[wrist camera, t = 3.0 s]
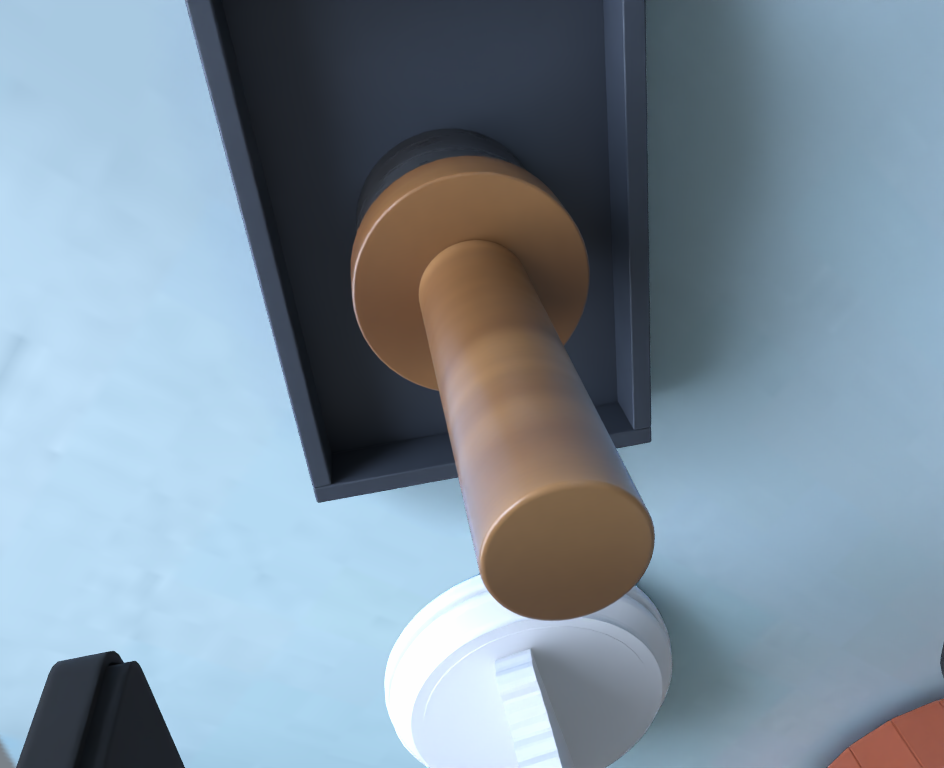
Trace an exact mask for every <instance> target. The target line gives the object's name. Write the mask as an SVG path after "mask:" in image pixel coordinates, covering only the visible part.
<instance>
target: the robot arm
mask: <svg viewBox="0 0 944 768" xmlns="http://www.w3.org/2000/svg"><path fill="white" fill-rule="evenodd" d="M940 664H941V671H942V674H943V677H944V644H943V649H942V654H941V662H940ZM16 768H185V767H184V765H183V762H182V760H181V758H180V755H179V753H178V751H177V748H176V746H175V744H174V742H173V739H172V737H171V735H170V732H169V730H168V728H167V726H166V723H165V721H164V719H163V716H162V714H161V712H160V710H159V707H158V705H157V703H156V700H155V698H154V696H153V694H152V691H151V689H150V687H149V684H148V682H147V680H146V677H145V675H144V673H143V671H142V669H141V667H140V665H139V664H138V663H137V662H136V661H132V662H127V663H124V662H123V661H122V659H121V657H120V656H119V654H117V653H116V652H115V651H110V652H105V653H99V654H94V655H89V656H84V657H79V658H74V659H69V660H64V661H59V662H57V663H56V664H55V665H54V666H53V667H52V669H51V671H50V673H49V675H48V678H47V681H46V684H45V686H44V689H43V692H42V695H41V698H40V701H39V704H38V707H37V709H36V712H35V715H34V718H33V721H32V724H31V727H30V730H29V732H28V735H27V738H26V741H25V744H24V747H23V750H22V752H21V755H20V758H19V761H18V764H17V767H16Z"/></svg>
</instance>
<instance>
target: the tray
mask: <svg viewBox="0 0 944 768" xmlns="http://www.w3.org/2000/svg"><path fill="white" fill-rule="evenodd" d="M185 2H186V6H187V10H188V14H189V17H190V21H191V25H192V29H193V33H194V36H195V40H196V44H197V48H198V52H199V55H200V59H201V63H202V67H203V71H204V74H205V78H206V82H207V86H208V90H209V93H210V97H211V101H212V105H213V109H214V112H215V116H216V120H217V124H218V128H219V131H220V135H221V139H222V143H223V147H224V151H225V154H226V158H227V162H228V166H229V170H230V173H231V177H232V181H233V185H234V189H235V192H236V196H237V200H238V204H239V208H240V211H241V215H242V219H243V223H244V227H245V230H246V234H247V238H248V242H249V246H250V249H251V253H252V257H253V261H254V265H255V268H256V272H257V276H258V280H259V284H260V287H261V291H262V295H263V299H264V303H265V306H266V310H267V314H268V318H269V322H270V325H271V329H272V333H273V337H274V341H275V344H276V348H277V352H278V356H279V360H280V364H281V367H282V371H283V375H284V379H285V383H286V386H287V390H288V394H289V398H290V402H291V405H292V409H293V413H294V417H295V421H296V424H297V428H298V432H299V436H300V440H301V443H302V447H303V451H304V455H305V459H306V462H307V466H308V470H309V474H310V478H311V481H312V485H313V487H314V493H315V497H316V500H317V502H319V503H320V502H325V501H331V500H336V499H342V498H347V497H353V496H358V495H364V494H369V493H375V492H380V491H386V490H391V489H397V488H402V487H407V486H413V485H418V484H424V483H429V482H435V481H440V480H446V479H451V478H457V477H458V473H457V469H456V465H455V460H454V456H453V451H452V447H451V442H450V438H449V433H448V429H447V424H446V420H445V415H444V411H443V406H442V402H441V397H440V393H439V391H437V390H433V389H429V388H426V387H423V386H420V385H418V384H415V383H413V382H411V381H409V380H407V379H405V378H403V377H402V376H400V375H399V374H397V373H396V372H394V371H393V370H392V369H390V368H389V367H388V366H387V365H386V364H385V363H384V362H383V361H381V360H380V359H379V357H378V356H377V355H376V354H375V353H374V351H373V350H372V349H371V348H370V346H369V344H368V343H367V341H366V340H365V338H364V336H363V334H362V332H361V330H360V327H359V325H358V323H357V319H356V316H355V312H354V307H353V300H352V289H351V255H352V248H353V244H354V240H355V237H356V234H357V232H356V210H357V203H358V199H359V196H360V192H361V189H362V187H363V185H364V182H365V180H366V178H367V177H368V175H369V173H370V172H371V170H372V169H373V167H374V166H375V165H376V164H377V162H378V161H379V160H380V159H381V158H382V157H383V156H384V155H385V154H386V153H387V152H388V151H389V150H391V149H392V148H393V147H395V146H396V145H398V144H399V143H401V142H403V141H404V140H406V139H408V138H410V137H412V136H415V135H418V134H421V133H423V132H428V131H432V130H438V129H463V130H468V131H473V132H476V133H479V134H482V135H485V136H487V137H489V138H491V139H493V140H496V141H497V142H498V143H500V144H501V145H503V146H504V147H506V148H507V149H508V150H509V151H510V152H511V153H513V154H514V155H515V156H516V158H517V159H518V160H519V161H520V162H521V164H522V165H523V166H524V168H525V169H526V171H528V172H529V173H531V174H532V175H534V176H535V177H537V178H538V179H539V180H541V181H542V182H543V183H544V184H545V185H546V186H547V187H548V188H549V189H550V190H551V191H552V192H553V193H554V195H555V196H556V197H557V198H558V199H559V201H560V202H561V204H562V205H563V206H564V208H565V209H566V210H567V212H568V213H569V215H570V216H571V218H572V219H573V221H574V222H575V224H576V226H577V227H578V229H579V231H580V234H581V236H582V238H583V241H584V243H585V247H586V251H587V255H588V261H589V269H590V273H589V289H588V296H587V300H586V304H585V307H584V311H583V314H582V316H581V318H580V320H579V323H578V325H577V327H576V329H575V330H574V332H573V334H572V335H571V337H570V339H569V340H568V341H567V342H566V344H565V345H564V348H565V350H566V352H567V354H568V355H569V357H570V359H571V361H572V363H573V365H574V367H575V369H576V371H577V373H578V375H579V377H580V379H581V381H582V383H583V385H584V387H585V389H586V391H587V393H588V395H589V397H590V399H591V400H592V402H593V404H594V406H595V408H596V410H597V412H598V414H599V416H600V418H601V420H602V422H603V424H604V426H605V428H606V430H607V432H608V434H609V436H610V438H611V440H612V442H613V443H614V445H615V447H616V448H621V447H627V446H632V445H638V444H643V443H649V442H651V427H650V426H651V374H650V301H649V227H648V154H647V80H646V6H645V0H185Z"/></svg>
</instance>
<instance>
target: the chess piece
mask: <svg viewBox="0 0 944 768" xmlns="http://www.w3.org/2000/svg"><path fill="white" fill-rule="evenodd" d="M671 675H672V655H671V645H670V638H669V634H668V631H667V628H666V626H665V623H664V621H663V619H662V617H661V615H660V613H659V611H658V609H657V608H656V606H655V605H654V603H653V602H652V601H651V600H650V598H649V597H648V596H647V595H646V594H645V593H644V592H643V591H642V590H641V589H639V588H638V587H637V586H636V585H635V586H634V587H633V588H632V589H631V590H630V591H629V592H628V593H626V594H625V595H624V596H623V597H622V598H620V599H619V600H617V601H616V602H615V603H613V604H611V605H609V606H608V607H606V608H604V609H602V610H600V611H597V612H595V613H592V614H590V615H587V616H584V617H579V618H575V619H570V620H563V621H542V620H535V619H530V618H527V617H523V616H520V615H518V614H515V613H513V612H511V611H510V610H508V609H506V608H504V607H503V606H502V605H501V604H499V603H498V602H497V601H496V600H495V599H494V598H493V597H492V596H491V595H490V594H489V592H488V591H487V589H486V588H485V586H484V584H483V581H482V579H481V576H480V575H477V576H475V577H472V578H470V579H468V580H466V581H464V582H462V583H460V584H458V585H456V586H454V587H452V588H451V589H449V590H447V591H446V592H444V593H443V594H441V595H440V596H438V597H437V598H435V599H434V600H433V601H432V602H430V603H429V604H428V605H427V606H425V607H424V608H423V609H422V610H421V611H420V612H419V613H418V614H417V615H416V616H415V617H414V618H413V619H412V620H411V622H410V623H409V624H408V625H407V626H406V628H405V629H404V631H403V632H402V633H401V635H400V637H399V638H398V640H397V641H396V643H395V645H394V647H393V650H392V652H391V654H390V657H389V660H388V663H387V668H386V673H385V697H386V705H387V709H388V713H389V716H390V718H391V721H392V723H393V725H394V728H395V730H396V733H397V735H398V737H399V738H400V740H401V742H402V743H403V745H404V746H405V747H406V748H407V750H408V751H409V752H410V753H411V754H412V755H413V756H414V757H415V758H416V759H417V760H419V761H420V762H421V763H423V764H424V765H425V766H427V767H428V768H606V767H607V766H609V765H611V764H612V763H614V762H615V761H616V760H618V759H619V758H621V757H622V756H623V755H624V754H626V753H627V752H628V751H629V750H630V749H631V748H632V747H633V746H634V745H635V744H636V743H637V742H638V741H639V740H640V739H641V738H642V736H643V735H644V734H645V733H646V731H647V730H648V728H649V727H650V725H651V724H652V722H653V720H654V718H655V716H656V714H657V712H658V711H659V709H660V707H661V705H662V704H663V701H664V699H665V697H666V694H667V691H668V689H669V685H670V681H671Z"/></svg>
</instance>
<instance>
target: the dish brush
mask: <svg viewBox="0 0 944 768" xmlns="http://www.w3.org/2000/svg"><path fill="white" fill-rule="evenodd" d="M356 232H357V234H356V237H355V240H354V244H353V248H352V255H351V289H352V300H353V307H354V312H355V316H356V319H357V323H358V325H359V327H360V330H361V332H362V334H363V336H364V338H365V340H366V341H367V343H368V344H369V346H370V348H371V349H372V350H373V351H374V353H375V354H376V355H377V356H378V357H379V359H380V360H381V361H383V362H384V363H385V364H386V365H387V366H388V367H389V368H390V369H392V370H393V371H394V372H396V373H397V374H399V375H400V376H402V377H403V378H405V379H407V380H409V381H411V382H413V383H415V384H418V385H420V386H423V387H426V388H429V389H433V390H437V391H439V393H440V397H441V402H442V406H443V411H444V415H445V420H446V424H447V429H448V433H449V438H450V442H451V447H452V451H453V456H454V460H455V465H456V469H457V473H458V478H459V482H460V487H461V491H462V496H463V500H464V505H465V509H466V514H467V518H468V523H469V527H470V532H471V536H472V541H473V545H474V550H475V554H476V559H477V563H478V568H479V572H480V576H481V579H482V581H483V584H484V586H485V588H486V589H487V591H488V592H489V594H490V595H491V596H492V597H493V598H494V599H495V600H496V601H497V602H498V603H499V604H501V605H502V606H503V607H504V608H506V609H508V610H510V611H511V612H513V613H515V614H518V615H520V616H523V617H527V618H530V619H535V620H542V621H563V620H570V619H575V618H579V617H584V616H587V615H590V614H592V613H595V612H597V611H600V610H602V609H604V608H606V607H608V606H609V605H611V604H613V603H615V602H616V601H617V600H619V599H620V598H622V597H623V596H624V595H625V594H626V593H628V592H629V591H630V590H631V589H632V588H633V587H634V586H635V585H636V584H637V582H638V581H639V580H640V578H641V577H642V576H643V574H644V573H645V571H646V569H647V567H648V565H649V563H650V560H651V558H652V554H653V549H654V540H655V533H654V525H653V522H652V518H651V516H650V514H649V512H648V510H647V508H646V506H645V504H644V502H643V500H642V498H641V496H640V494H639V492H638V490H637V488H636V486H635V485H634V483H633V481H632V479H631V477H630V475H629V473H628V471H627V469H626V467H625V465H624V463H623V461H622V459H621V457H620V455H619V453H618V451H617V449H616V447H615V445H614V443H613V442H612V440H611V438H610V436H609V434H608V432H607V430H606V428H605V426H604V424H603V422H602V420H601V418H600V416H599V414H598V412H597V410H596V408H595V406H594V404H593V402H592V400H591V399H590V397H589V395H588V393H587V391H586V389H585V387H584V385H583V383H582V381H581V379H580V377H579V375H578V373H577V371H576V369H575V367H574V365H573V363H572V361H571V359H570V357H569V355H568V354H567V352H566V350H565V348H564V345H565V344H566V342H567V341H568V340H569V339H570V337H571V335H572V334H573V332H574V330H575V329H576V327H577V325H578V323H579V320H580V318H581V316H582V314H583V311H584V307H585V304H586V300H587V296H588V289H589V273H590V269H589V261H588V255H587V251H586V247H585V243H584V241H583V238H582V236H581V234H580V231H579V229H578V227H577V226H576V224H575V222H574V221H573V219H572V218H571V216H570V215H569V213H568V212H567V210H566V209H565V208H564V206H563V205H562V204H561V202H560V201H559V199H558V198H557V197H556V196H555V195H554V193H553V192H552V191H551V190H550V189H549V188H548V187H547V186H546V185H545V184H544V183H543V182H542V181H541V180H539V179H538V178H537V177H535V176H534V175H532V174H531V173H529V172H528V171H526V169H525V168H524V166H523V165H522V164H521V162H520V161H519V160H518V159H517V158H516V156H515V155H514V154H513V153H511V152H510V151H509V150H508V149H507V148H506V147H504V146H503V145H501V144H500V143H498V142H497V141H496V140H493V139H491V138H489V137H487V136H485V135H482V134H479V133H476V132H473V131H468V130H463V129H438V130H432V131H428V132H423V133H421V134H418V135H415V136H412V137H410V138H408V139H406V140H404V141H403V142H401V143H399V144H398V145H396V146H395V147H393V148H392V149H391V150H389V151H388V152H387V153H386V154H385V155H384V156H383V157H382V158H381V159H380V160H379V161H378V162H377V164H376V165H375V166H374V167H373V169H372V170H371V172H370V173H369V175H368V177H367V178H366V180H365V182H364V185H363V187H362V189H361V192H360V196H359V199H358V203H357V210H356Z"/></svg>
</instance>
